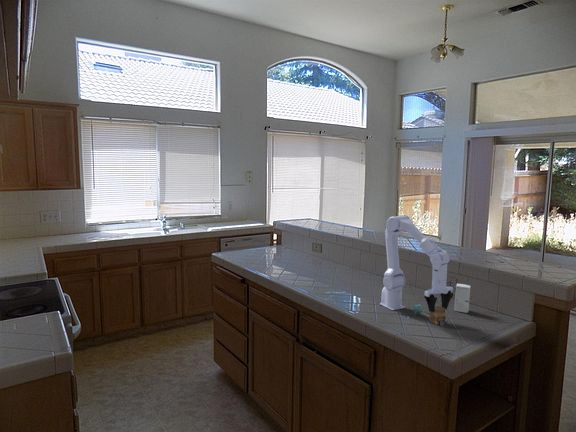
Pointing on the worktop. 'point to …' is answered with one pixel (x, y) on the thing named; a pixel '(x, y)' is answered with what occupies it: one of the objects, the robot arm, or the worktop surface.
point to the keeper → (437, 315)
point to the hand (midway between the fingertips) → (438, 310)
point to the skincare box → (462, 298)
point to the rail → (419, 312)
